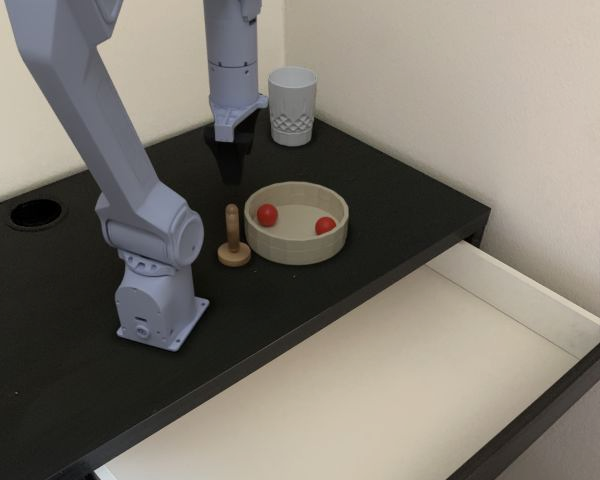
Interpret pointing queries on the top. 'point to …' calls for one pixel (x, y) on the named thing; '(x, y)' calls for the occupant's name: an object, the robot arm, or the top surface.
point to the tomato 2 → (324, 225)
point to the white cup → (292, 104)
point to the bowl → (296, 223)
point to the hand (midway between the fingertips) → (237, 168)
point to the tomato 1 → (267, 214)
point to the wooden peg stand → (233, 242)
